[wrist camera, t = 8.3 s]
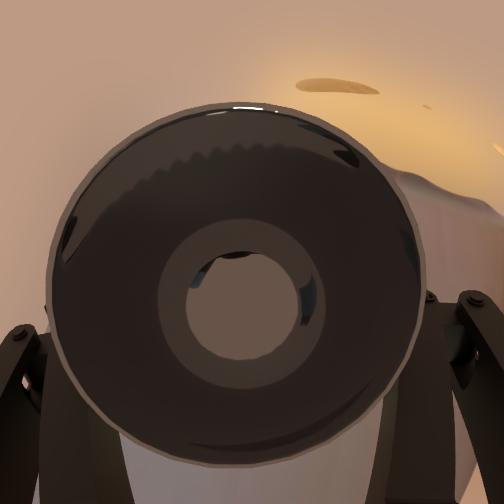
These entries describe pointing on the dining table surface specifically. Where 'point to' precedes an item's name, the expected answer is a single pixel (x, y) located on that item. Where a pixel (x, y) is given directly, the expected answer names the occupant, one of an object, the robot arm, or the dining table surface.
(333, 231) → the wine glass
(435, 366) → the robot arm
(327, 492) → the dining table surface
